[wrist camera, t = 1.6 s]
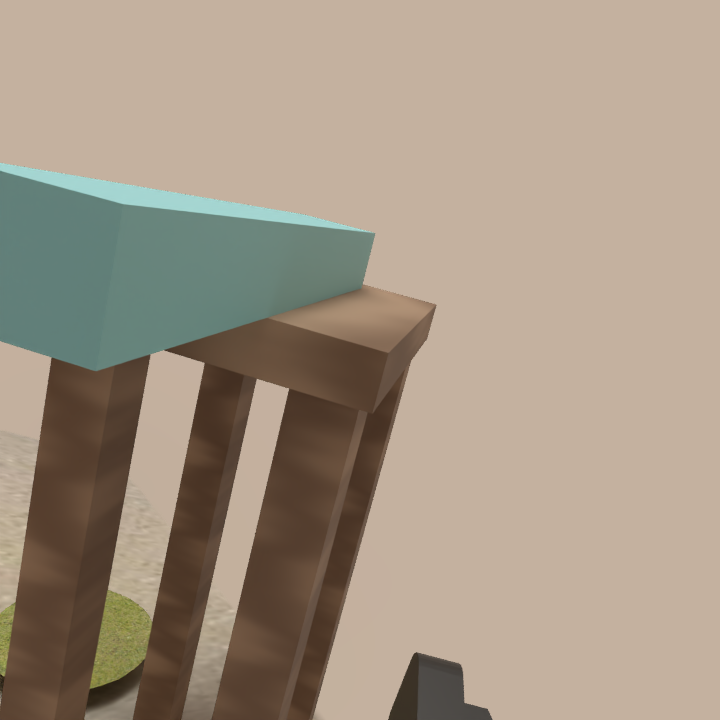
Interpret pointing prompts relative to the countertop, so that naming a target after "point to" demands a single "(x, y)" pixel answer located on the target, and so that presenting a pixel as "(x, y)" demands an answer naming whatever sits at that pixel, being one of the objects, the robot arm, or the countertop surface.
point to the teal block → (153, 266)
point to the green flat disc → (103, 639)
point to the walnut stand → (215, 510)
